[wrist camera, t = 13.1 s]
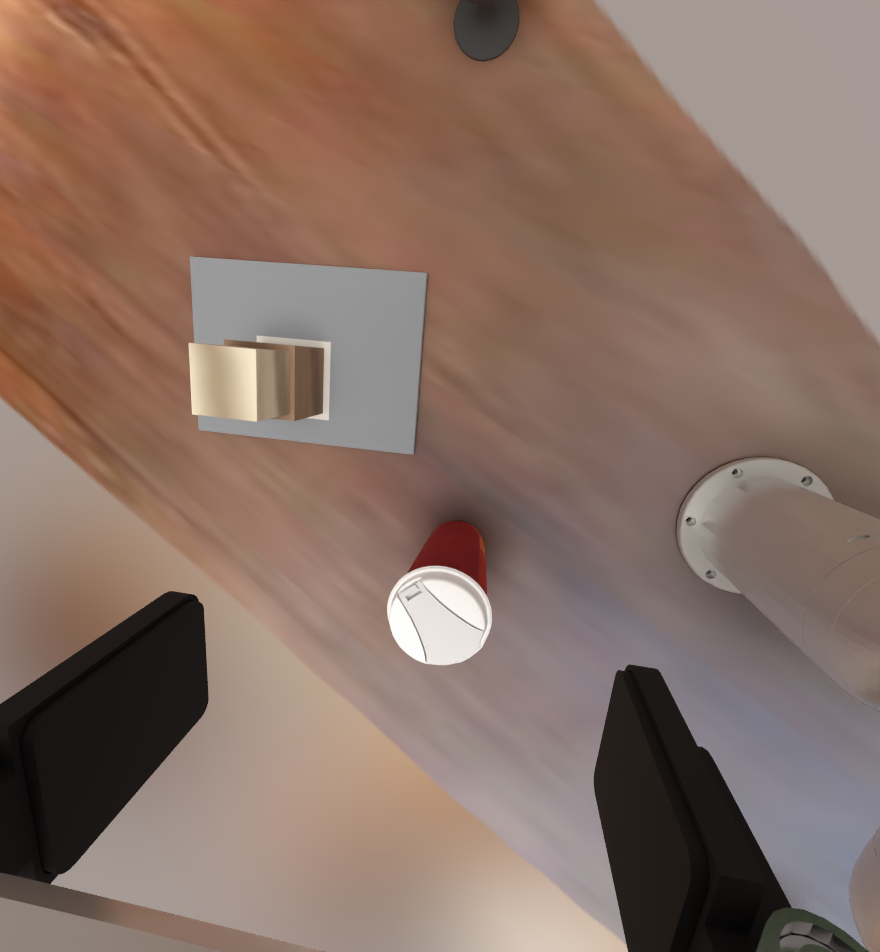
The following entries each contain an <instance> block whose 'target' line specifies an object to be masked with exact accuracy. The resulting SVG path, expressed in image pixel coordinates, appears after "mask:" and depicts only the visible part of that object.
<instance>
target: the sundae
mask: <svg viewBox="0 0 880 952" xmlns="http://www.w3.org/2000/svg"><path fill="white" fill-rule="evenodd" d="M518 24H519V9H518V4H517V2H516V0H461V1H460V3H459V5H458V7H457V9H456V13H455V18H454V32H455V38H456V40H457V42H458V45H459V46H460V48H461V50H462V51H463V52H464V53H465V54H466V55H468V56H469V57H471V58H473V59H476V60H482V61H485V60H490V59H493V58H496V57H498V56H499V55H501V54H502V53H503V52H504V51H505V50H506V49H508V47H509V46H510V44H511V43H512V41H513V39H514V37H515V36H516V32H517V29H518Z"/></svg>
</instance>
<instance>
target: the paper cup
mask: <svg viewBox="0 0 880 952" xmlns="http://www.w3.org/2000/svg"><path fill="white" fill-rule="evenodd" d="M387 613H388V620H389V623H390V628H391V631H392V634H393V636H394V638H395V640H396V642H397V643H398V645H399V646H400V647H401V648H402V649H403V650H404V651H405V652H406V653H407V654H408V655H409V656H411V657H413V658H414V659H416V660H418V661H420V662H422V663H427V664H434V665H450V664H454V663H459V662H462V661H464V660H466V659H468V658H470V657H471V656H472V655H474V654H475V653H476V652H477V651H479V650H480V649H481V648H482V647H483V645H484V642H485V640H486V638H487V636H488V634H489V631H490V628H491V623H492V611H491V606H490V602H489V600H488V598H487V583H486V558H485V546H484V541H483V538H482V536H481V534H480V533H479V532H478V530H477V529H476V528H475V527H473V526H472V525H470V524H468V523H466V522H463V521H449V522H445V523H443V524H441V525H440V526H439V527H437V528H436V529H435V530H434V532H433V533H432V534H431V536H430V537H429V539H428V540H427V542H426V543H425V545H424V547H423V548H422V550H421V551H420V553H419V555H418V556H417V558H416V560H415V561H414V563H413V564H412V566H411V568H410V569H409V571H408V573H407V574H406V575H405V576H403V577H402V578H401V579H400V580H399V581H398V582H397V583H396V585H395V586H394V588H393V589H392V591H391V594H390V596H389V600H388V607H387Z"/></svg>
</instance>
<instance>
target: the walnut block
mask: <svg viewBox="0 0 880 952" xmlns="http://www.w3.org/2000/svg"><path fill="white" fill-rule="evenodd" d="M224 345H229V346H240V347H250V348H261V349H271V350H282V351H290V374H289V414H288V415H284V416H279V417H275V418H271V419H279V420H288V421H297V420H301V419H304V418H308V417H312V416H315V415H319V414H323V381H324V348H316V347H305V346H294V345H283V344H272V343H260V342H249V341H238V340H227V339H224Z"/></svg>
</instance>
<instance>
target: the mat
mask: <svg viewBox="0 0 880 952" xmlns="http://www.w3.org/2000/svg"><path fill="white" fill-rule="evenodd" d="M190 267H191V287H192V307H193V327H194V343H200V344H214V345H224V339H227V340H238V341H249V342H260V343H272V344H283V345H294V346H305V347H316V348H324V381H323V414H319V415H315V416H312V417H308V418H304V419H301V420H297V421H288V420H279V419H266V420H262V421H258V422H255V421H247V420H238V419H229V418H221V417H212V416H203V415H198V427H199V430H203V431H212V432H221V433H229V434H238V435H247V436H255V437H264V438H273V439H281V440H290V441H299V442H307V443H316V444H325V445H333V446H342V447H351V448H359V449H368V450H377V451H385V452H394V453H403V454H411V455H414V454H415V442H416V428H417V415H418V401H419V388H420V374H421V361H422V347H423V334H424V320H425V307H426V293H427V280H428V274H427V273H422V272H407V271H393V270H378V269H363V268H349V267H334V266H320V265H305V264H290V263H276V262H261V261H246V260H232V259H217V258H202V257H190Z"/></svg>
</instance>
